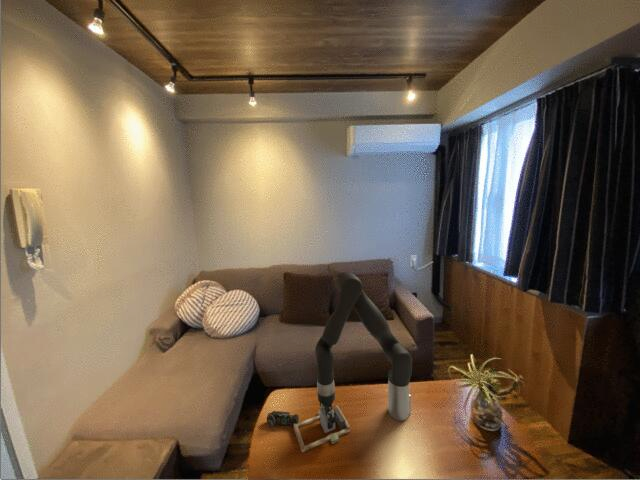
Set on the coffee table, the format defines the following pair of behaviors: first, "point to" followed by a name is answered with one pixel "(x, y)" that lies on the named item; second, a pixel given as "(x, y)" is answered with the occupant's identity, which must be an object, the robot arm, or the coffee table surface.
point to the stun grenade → (282, 418)
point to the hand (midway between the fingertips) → (327, 422)
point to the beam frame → (333, 437)
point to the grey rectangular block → (325, 421)
